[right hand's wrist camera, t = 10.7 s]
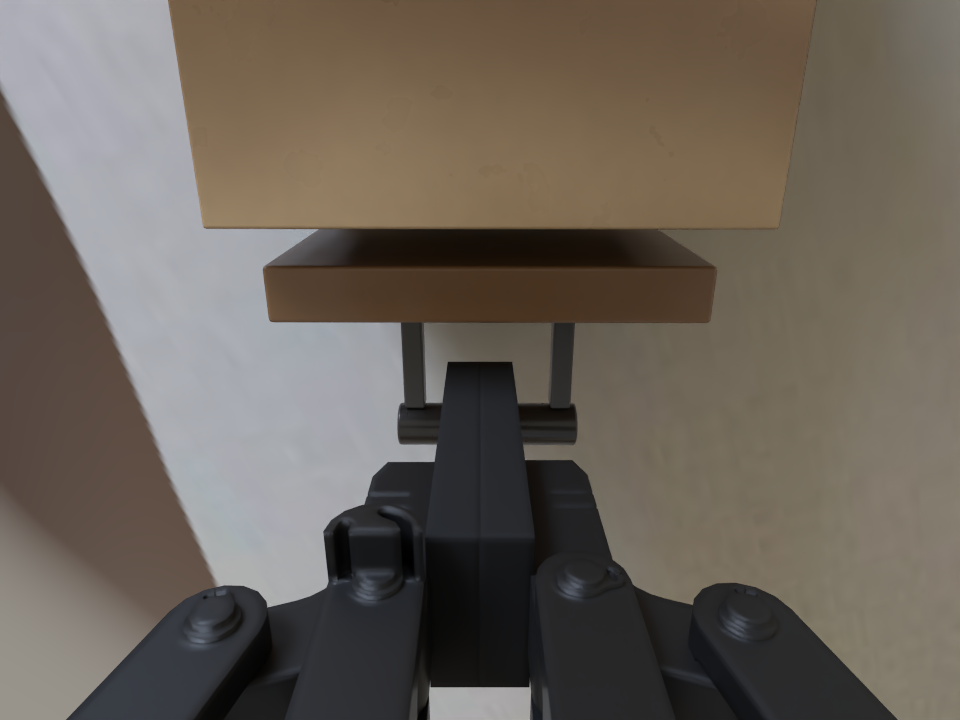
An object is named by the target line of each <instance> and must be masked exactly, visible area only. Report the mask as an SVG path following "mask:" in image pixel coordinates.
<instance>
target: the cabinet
mask: <svg viewBox="0 0 960 720" xmlns="http://www.w3.org/2000/svg"><path fill="white" fill-rule="evenodd" d="M168 3H169V9H170V16H171V22H172V29H173V35H174V42H175V48H176V54H177V61H178V67H179V74H180V80H181V87H182V93H183V100H184V106H185V112H186V119H187V125H188V132H189V138H190V145H191V151H192V157H193V164H194V170H195V177H196V183H197V190H198V196H199V203H200V209H201V215H202V222H203V227H204V228H206V229H778V227H779V223H780V217H781V212H782V206H783V200H784V194H785V188H786V182H787V176H788V170H789V164H790V158H791V152H792V146H793V140H794V134H795V128H796V122H797V116H798V110H799V104H800V98H801V92H802V86H803V81H804V75H805V69H806V63H807V57H808V51H809V45H810V39H811V33H812V27H813V21H814V15H815V9H816V3H817V0H168Z"/></svg>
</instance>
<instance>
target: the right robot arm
mask: <svg viewBox="0 0 960 720" xmlns="http://www.w3.org/2000/svg"><path fill="white" fill-rule="evenodd" d="M323 532H324V542H325V551H326V560H327V570H328V579H329V582H328V585H327V588H325V589H324V590H322V591H320V592H318V593H316V594H314V595H312V596H310V597H307V598H304V599H300V600H297V601H294V602H289V603H285V604H281V605H277V606H272V607H268V608H267V602H266V601H265V599H264V598H263V597H262V596H261V595H260V593H259V592H258V591H255V590H252V589H250V588H247V587H245V586H221V587H216V588H212V589H208V590H204V591H202V592H200V593H197V594H195V595H193V596H191V597H189V598H187V599H185V600H184V601H182V602H181V603H180V604H179V605H177V606H176V607H175V608H174V609H172V610H171V611H170V612H169V613H168V614H167V615H166V616H165V617H164V618H163V619H162V620H161V621H160V622H159V623H158V624H157V625H156V626H155V627H154V628H153V629H152V631H151V632H150V633H149V634H148V635H147V636H146V637H145V638H144V639H143V640H142V641H141V642H140V643H139V644H138V645H137V646H136V647H135V648H134V649H133V650H132V651H131V652H130V654H129V655H128V656H127V657H126V658H125V659H124V660H123V661H122V662H121V663H120V664H119V665H118V666H117V667H116V668H115V669H114V670H113V671H112V672H111V673H110V674H109V675H108V677H107V678H106V679H105V680H104V681H103V682H102V683H101V684H100V685H99V686H98V687H97V688H96V689H95V690H94V691H93V692H92V693H91V694H90V695H89V696H88V697H87V699H86V700H85V701H84V702H83V703H82V704H81V705H80V706H79V707H78V708H77V709H76V710H75V711H74V712H73V713H72V714H71V715H70V716H69V717H68V718H67V719H66V720H430V711H429V687H430V685H431V687H529V685H530V684H531V711H530V720H897V719H896V717H895V716H894V715H893V714H892V713H891V712H890V711H889V710H888V709H887V708H886V707H885V706H884V705H883V704H882V703H881V702H880V701H879V700H878V699H877V698H876V697H875V696H874V695H873V694H872V693H871V692H870V690H869V689H868V688H867V687H866V686H865V685H864V684H863V683H862V682H861V681H860V680H859V679H858V678H857V677H856V676H855V675H854V674H853V673H852V672H851V671H850V670H849V669H848V668H847V667H846V666H845V664H844V663H843V662H842V661H841V660H840V659H839V658H838V657H837V656H836V655H835V654H834V653H833V652H832V651H831V650H830V649H829V648H828V647H827V646H826V645H825V644H824V643H823V642H822V641H821V640H820V638H819V637H818V636H817V635H816V634H815V633H814V632H813V631H812V630H811V629H810V628H809V627H808V626H807V625H806V624H805V623H804V622H803V621H802V620H801V619H800V618H799V617H798V616H797V615H796V614H795V612H794V611H793V610H792V609H790V608H789V607H788V606H787V605H785V604H784V603H783V602H782V601H780V600H779V599H778V598H776V597H775V596H773V595H771V594H769V593H767V592H764V591H762V590H760V589H758V588H756V587H751V586H747V585H742V584H738V583H717V584H714V585H712V586H709V587H706V588H704V589H702V590H701V591H700V593H699V594H698V595H697V596H696V597H695V598H694V602H693V605H690V604H685V603H681V602H677V601H673V600H669V599H664V598H661V597H658V596H655V595H652V594H649V593H647V592H645V591H643V590H641V589H639V588H637V587H635V586H634V585H633V584H632V581H631V579H630V578H629V576H628V575H627V573H626V571H625V570H624V568H622V567H621V566H620V565H619V564H617V563H616V562H615V561H613V559H612V556H611V553H610V549H609V546H608V542H607V539H606V536H605V532H604V529H603V526H602V522H601V519H600V516H599V512H598V509H596V502H595V499H594V496H593V495H592V489H591V486H590V482H589V479H588V475H587V474H586V473H585V472H584V471H583V470H582V469H581V468H580V467H579V466H578V465H577V464H575V463H574V462H573V461H572V460H525V457H524V449H523V441H522V434H521V426H520V418H519V411H518V403H517V395H516V388H515V380H514V372H513V365H512V362H448V365H447V372H446V380H445V388H444V395H443V403H442V411H441V418H440V426H439V434H438V441H437V449H436V457H435V462H388V463H387V464H386V465H385V466H383V467H382V468H381V469H380V470H379V471H378V472H377V473H376V474H375V475H374V476H373V478H372V481H371V485H370V488H369V491H368V497H367V498H366V501H365V505H361V506H358V507H355V508H352V509H349V510H346V511H344V512H343V513H341V514H340V515H338V516H337V517H335V518H334V519H332V520H331V521H330V523H329V524H328V526H327V527H326V529H325V530H324V531H323Z"/></svg>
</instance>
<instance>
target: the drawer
mask: <svg viewBox="0 0 960 720" xmlns="http://www.w3.org/2000/svg"><path fill="white" fill-rule="evenodd" d="M263 275H264V283H265V291H266V299H267V307H268V315H269V320H270V321H271V322H401V335H402V356H403V378H404V399H405V403H401V404H400V406H399V410H398V440H399V443H400V444H403V445H437V441H438V434H439V426H440V418H441V411H442V403H426V374H425V344H424V323H552V328H551V352H550V375H549V399H548V400H549V403H518V411H519V418H520V426H521V434H522V441H523V445H574V444H575V443H576V439H577V411H576V407H575V404H573V403H570V400H571V382H572V365H573V347H574V329H575V323H708V322H709V321H710V319H711V311H712V304H713V297H714V289H715V282H716V275H717V268H716V267H715V266H713V265H712V264H710V263H709V262H707V261H706V260H704V259H703V258H701V257H699V256H698V255H696V254H695V253H693V252H692V251H690V250H689V249H687V248H685V247H684V246H682V245H681V244H679V243H678V242H676V241H675V240H673V239H672V238H670V237H668V236H667V235H665V234H664V233H662V232H661V231H659V230H658V229H319V230H317V231H316V232H314V233H313V234H311V235H310V236H308V237H307V238H305V239H304V240H303V241H301V242H300V243H298V244H297V245H295V246H294V247H292V248H291V249H289V250H288V251H286V252H285V253H283V254H282V255H280V256H279V257H277V258H276V259H274V260H273V261H271V262H270V263H268V264H267V265H265V266H264V268H263Z"/></svg>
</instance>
